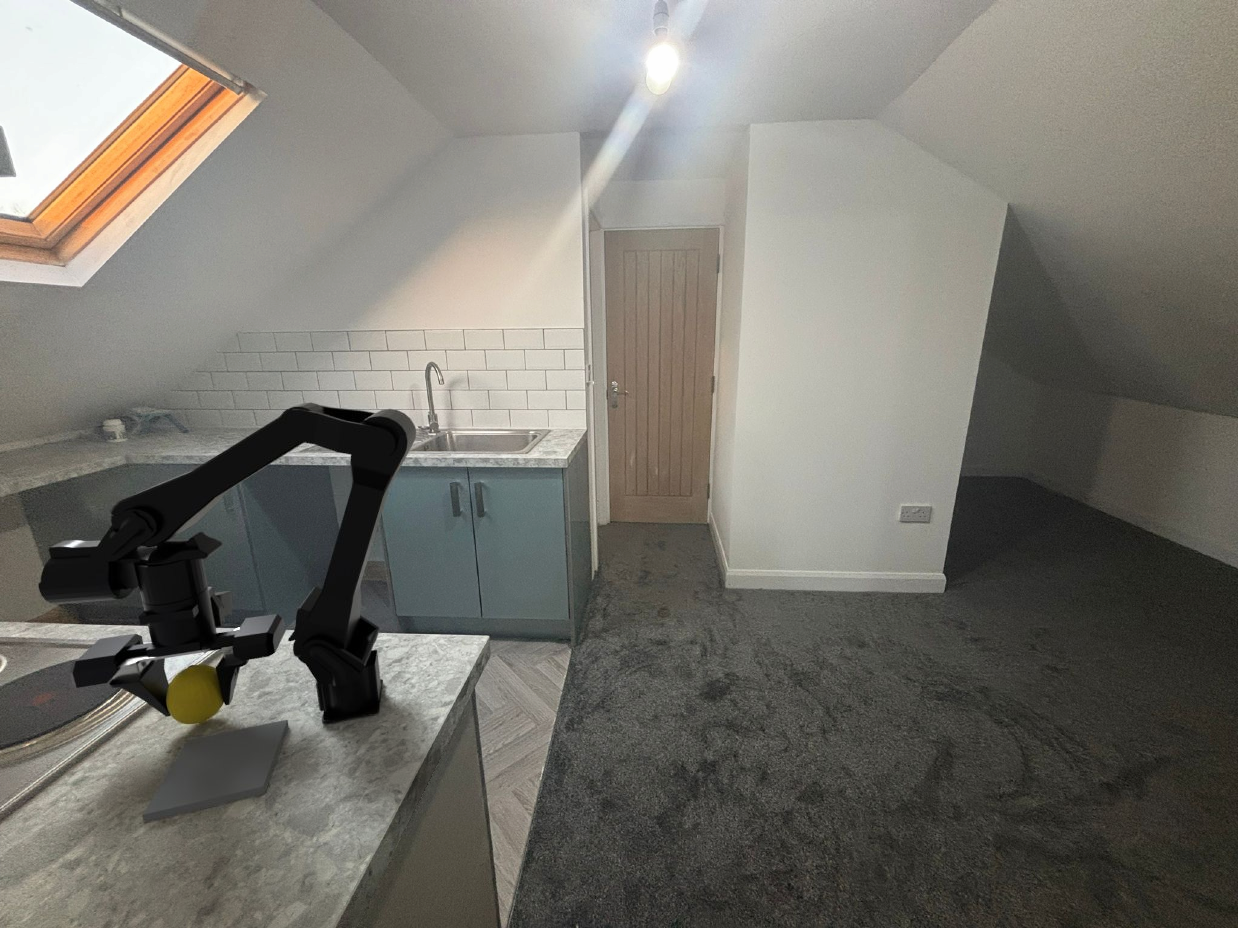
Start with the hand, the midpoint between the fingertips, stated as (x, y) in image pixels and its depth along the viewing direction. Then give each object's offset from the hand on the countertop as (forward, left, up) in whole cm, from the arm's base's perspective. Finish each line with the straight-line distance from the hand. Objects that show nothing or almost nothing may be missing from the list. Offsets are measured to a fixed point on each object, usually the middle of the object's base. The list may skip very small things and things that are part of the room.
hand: (200, 708), depth 62 cm
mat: (-5, +9, -2) cm, 11 cm away
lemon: (0, 0, -2) cm, 2 cm away
